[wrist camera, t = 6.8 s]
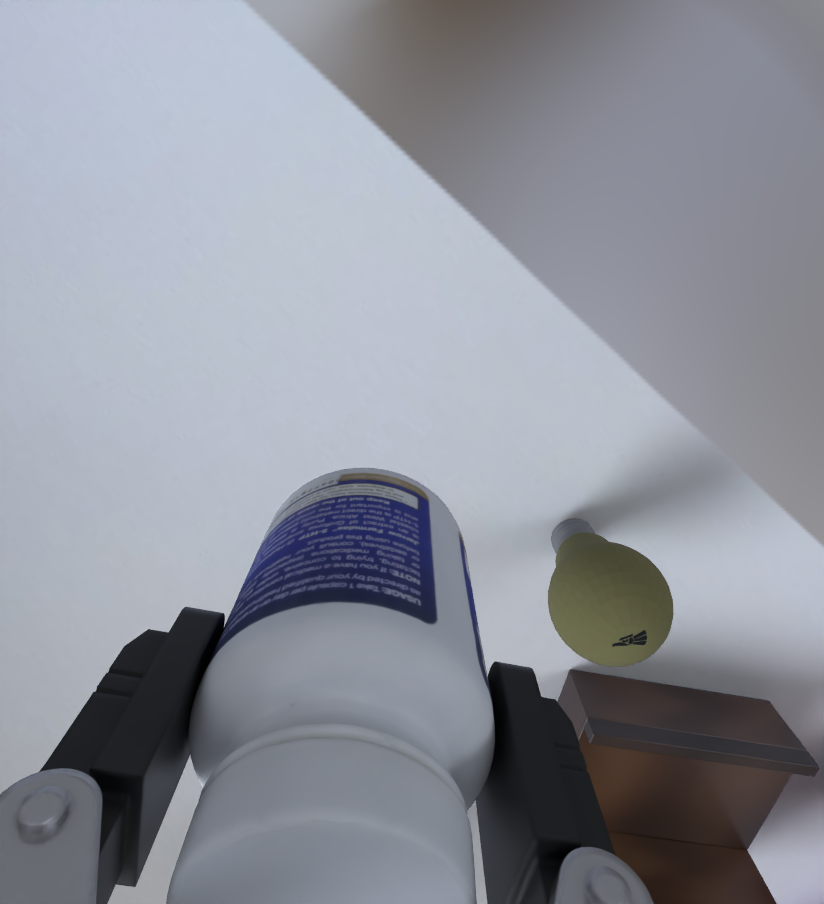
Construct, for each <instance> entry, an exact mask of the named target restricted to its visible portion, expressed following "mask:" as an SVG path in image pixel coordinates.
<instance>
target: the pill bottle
mask: <svg viewBox="0 0 824 904" xmlns="http://www.w3.org/2000/svg"><path fill="white" fill-rule="evenodd" d="M189 746H190V754H191V759H192V763H193V766H194V769H195V771H196V774H197V776H198V779H199V781H200V783H201V785H202V786H203V789H202V792H201V795H200V799H199V803H198V805H197V807H196V809H195V812H194V815H193V818H192V821H191V823H190V826H189V829H188V832H187V834H186V837H185V840H184V843H183V846H182V849H181V852H180V855H179V858H178V861H177V863H176V866H175V869H174V872H173V875H172V878H171V882H170V886H169V890H168V895H167V902H166V904H477V903H476V888H475V871H474V857H473V843H472V833H471V827H470V822H469V819H468V816H467V810H468V809H469V808H470V807H471V805H472V804H473V802H474V801H475V799H476V798H477V796H478V795H479V793H480V792H481V790H482V788H483V786H484V784H485V782H486V780H487V777H488V774H489V772H490V768H491V764H492V760H493V755H494V747H495V723H494V714H493V706H492V696H491V692H490V687H489V682H488V677H487V672H486V666H485V661H484V655H483V650H482V645H481V640H480V634H479V628H478V623H477V617H476V611H475V605H474V599H473V593H472V587H471V581H470V573H469V567H468V562H467V555H466V550H465V546H464V541H463V538H462V535H461V532H460V529H459V527H458V525H457V523H456V521H455V519H454V517H453V515H452V514H451V512H450V511H449V509H448V508H447V506H446V505H445V504H444V503H443V502H442V500H441V499H440V498H439V497H438V496H437V495H435V494H434V493H433V492H432V491H430V490H429V489H428V488H427V487H425V486H424V485H422V484H420V483H419V482H417V481H415V480H413V479H411V478H409V477H407V476H404V475H401V474H398V473H395V472H392V471H387V470H383V469H375V468H352V469H344V470H339V471H335V472H331V473H328V474H325V475H323V476H320V477H318V478H316V479H314V480H312V481H310V482H308V483H307V484H305V485H303V486H302V487H301V488H299V489H298V490H297V491H295V492H294V493H293V494H292V495H291V496H290V497H289V498H288V499H287V500H286V501H285V502H284V503H283V505H282V506H281V507H280V509H279V510H278V511H277V513H276V515H275V517H274V518H273V520H272V522H271V524H270V526H269V528H268V530H267V532H266V534H265V537H264V539H263V541H262V543H261V546H260V548H259V550H258V553H257V555H256V557H255V559H254V562H253V564H252V566H251V568H250V571H249V573H248V575H247V577H246V579H245V582H244V584H243V586H242V588H241V591H240V593H239V595H238V598H237V600H236V602H235V605H234V607H233V609H232V611H231V614H230V616H229V618H228V620H227V622H226V624H225V627H224V629H223V631H222V634H221V636H220V638H219V640H218V643H217V645H216V647H215V649H214V652H213V654H212V656H211V658H210V660H209V662H208V665H207V667H206V669H205V672H204V674H203V677H202V679H201V682H200V684H199V687H198V690H197V692H196V695H195V698H194V702H193V706H192V710H191V715H190V723H189Z"/></svg>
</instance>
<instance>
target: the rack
mask: <svg viewBox="0 0 824 904" xmlns="http://www.w3.org/2000/svg"><path fill="white" fill-rule="evenodd" d="M558 704H559V705H560V706H561V708H562V709H563V710H564V712H565V713H566V714H567V716H568V717H569V718H570V720H571V721H572V723H573V726H574V729H575V732H576V735H577V738H578V741H579V744H580V751H581V752H582V753H583V756H584V759H585V763H586V766H587V772H589V775H590V778H591V781H592V784H593V787H594V790H595V793H596V796H597V799H598V802H599V806H600V809H601V812H602V815H603V818H604V821H605V824H606V827H607V830H608V833H609V836H610V839H611V842H612V845H613V848H614V851H615V854H616V856H617V857H618V858H620V859H621V860H622V861H624V862H625V863H626V864H627V865H628V866H629V867H630V868H631V869H633V871H634V872H635V873H636V874H637V875H638V876H639V878H640V879H641V880H642V882H643V883H644V885H645V886H646V888H647V890H648V892H649V894H650V896H651V898H652V901H653V902H654V903H656V904H776V902H775V900H774V898H773V896H772V894H771V893H770V891H769V889H768V887H767V885H766V884H765V882H764V880H763V878H762V876H761V874H760V873H759V871H758V869H757V867H756V865H755V863H754V862H753V860H752V858H751V856H750V854H749V853H748V851H747V849H748V848H749V846H750V845H751V843H752V841H753V839H754V838H755V836H756V834H757V833H758V831H759V829H760V828H761V826H762V824H763V823H764V821H765V819H766V818H767V816H768V814H769V813H770V811H771V809H772V808H773V806H774V804H775V803H776V801H777V799H778V798H779V796H780V794H781V793H782V791H783V789H784V787H785V786H786V784H787V782H788V781H789V779H790V777H791V776H792V774H799V775H806V776H813V777H814V776H815V775H816V773H817V771H818V770H819V768H820V767H819V766H818V764H817V763H816V762H815V760H814V759H813V758H812V756H811V755H810V754H809V753H808V751H806V749H805V747H804V746H803V745H802V744H801V742H800V741H799V740H798V738H797V737H796V736H795V734H794V733H793V732H792V731H791V729H790V728H789V727H788V725H787V724H786V723H785V721H784V720H783V719H782V718H781V716H780V715H779V714H778V712H777V711H776V710H775V708H774V707H773V706H772V704H771V703H770V702H769V701H766V700H760V699H753V698H747V697H740V696H734V695H728V694H721V693H715V692H709V691H702V690H696V689H690V688H683V687H677V686H671V685H664V684H658V683H652V682H645V681H639V680H633V679H626V678H620V677H614V676H607V675H601V674H594V673H588V672H582V671H575V670H570V671H569V673H568V676H567V678H566V681H565V684H564V686H563V689H562V692H561V694H560V697H559V700H558Z"/></svg>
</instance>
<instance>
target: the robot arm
mask: <svg viewBox="0 0 824 904" xmlns="http://www.w3.org/2000/svg"><path fill="white" fill-rule="evenodd" d="M224 621H225V616H224V613H219V612H213V611H207V610H201V609H196V608H190V607H185V608H183V610H182V611H181V613H180V614H179V616H178V618H177V619H176V621H175V623H174V625H173V626H172V628H171V630H170V631H169V633H167V632H161V631H156V630H150V629H148V630H147V631H145V632H144V633H143V634H141V635H140V636H138V637H137V638H136V639H134V640H133V641H131V642H130V643H128V644H127V645H126V646H124V648H123V649H122V651H121V652H120V654H119V655H118V657H117V658H116V660H115V661H114V663H113V664H112V666H111V667H110V669H109V672H108V673H106V675H105V676H104V677H103V679H102V680H101V682H100V683H99V685H98V686H97V690H96V692H93V694H92V695H91V697H90V698H89V700H88V701H87V703H86V704H85V706H84V707H83V709H82V710H81V712H80V713H79V715H78V716H77V718H76V719H75V721H74V722H73V724H72V725H71V727H70V728H69V730H68V731H67V732H66V734H65V735H64V737H63V738H62V740H61V741H60V743H59V744H58V746H57V747H56V749H55V750H54V752H53V753H52V755H51V756H50V758H49V759H48V761H47V762H46V764H45V765H44V766H43V768H42V769H41V770H40V771H39V772H38V773H35V774H32V775H30V776H28V777H26V778H23V779H21V780H20V781H18V782H16V783H15V784H13V785H11V786H10V787H9V788H8V789H6V790H5V791H4V792H2V793H1V794H0V904H107V903H108V901H109V898H110V896H111V894H112V892H113V889H114V887H115V885H116V884H117V885H125V886H132V887H136V884H137V882H138V879H139V877H140V875H141V872H142V870H143V867H144V865H145V862H146V860H147V858H148V855H149V853H150V850H151V848H152V845H153V843H154V841H155V838H156V836H157V833H158V831H159V828H160V826H161V824H162V821H163V819H164V816H165V814H166V811H167V809H168V807H169V804H170V802H171V799H172V797H173V794H174V792H175V790H176V787H177V785H178V782H179V780H180V778H181V775H182V773H183V770H184V768H185V765H186V763H187V761H188V758H189V756H190V746H189V723H190V715H191V710H192V706H193V702H194V698H195V695H196V692H197V690H198V687H199V684H200V682H201V679H202V677H203V674H204V672H205V669H206V667H207V665H208V662H209V660H210V658H211V656H212V654H213V652H214V649H215V647H216V645H217V643H218V640H219V638H220V636H221V634H222V631H223V629H224ZM488 682H489V687H490V692H491V696H492V706H493V714H494V723H495V747H494V755H493V760H492V764H491V768H490V772H489V774H488V777H487V780H486V782H485V784H484V786H483V788H482V790H481V792H480V793H479V795H478V796H477V798H476V806H477V815H478V823H479V832H480V841H481V850H482V858H483V867H484V876H485V885H486V893H487V902H488V904H656V903H654V902H653V901H652V898H651V896H650V894H649V892H648V890H647V888H646V886H645V885H644V883H643V882H642V880H641V879H640V878H639V876H638V875H637V874H636V873H635V872H634V871H633V869H631V868H630V867H629V866H628V865H627V864H626V863H625V862H624V861H622V860H621V859H620V858H618V857H617V856H616V854H615V851H614V848H613V845H612V842H611V839H610V836H609V833H608V830H607V827H606V824H605V821H604V818H603V815H602V812H601V809H600V806H599V802H598V799H597V796H596V793H595V790H594V787H593V784H592V781H591V778H590V775H589V772H587V766H586V763H585V759H584V756H583V753H582V752H581V751H580V744H579V741H578V738H577V735H576V732H575V729H574V726H573V723H572V721H571V720H570V718H569V717H568V716H567V714H566V713H565V712H564V710H563V709H562V708H561V706H560V705H559V704H558V702H557V701H556V700H555V699H549V698H543V697H541V695H540V691H539V687H538V684H537V680H536V676H535V673H534V671H533V669H532V668H529V667H523V666H518V665H512V664H506V663H500V662H494V663H493V664H492V666H491V668H490V671H489V674H488Z"/></svg>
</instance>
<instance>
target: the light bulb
mask: <svg viewBox="0 0 824 904" xmlns="http://www.w3.org/2000/svg"><path fill="white" fill-rule="evenodd" d="M551 541H552V545H553V547H554V550H555V552H556V554H557V555H556V568H555V570H554V573H553V575H552V578H551V582H550V586H549V590H548V605H549V613H550V616H551V619H552V622H553V624H554V627H555V629H556V631H557V632H558V634H559V635H560V637H561V638H562V640H563V641H564V642H565V643H566V644H567V645H568V646H569V647H570V648H571V649H572V650H573V651H574V652H576V653H577V654H578V655H580V656H581V657H583V658H585V659H587V660H589V661H591V662H594V663H597V664H600V665H605V666H627V665H633V664H635V663H638V662H641V661H643V660H645V659H647V658H648V657H650V656H651V655H652V654H654V653H655V652H656V651H657V650H658V648H659V647H660V646H661V645H662V644H663V642H664V641H665V639H666V638H667V636H668V634H669V631H670V628H671V624H672V619H673V600H672V596H671V593H670V589H669V586H668V584H667V582H666V580H665V578H664V577H663V575H662V573H661V572H660V571H659V569H658V568H657V567H656V566H655V565H654V564H653V563H652V562H651V561H650V560H649V559H648V558H646V557H645V556H644V555H642V554H641V553H639V552H638V551H636V550H634V549H632V548H630V547H627V546H624V545H621V544H618V543H612V542H608V541H607V540H606V539H605V538H603V537H601V536H599V535H597V534H595V533H594V531H593V529H592V528H591V526H590V525H589V524H588V523H587V522H585V521H583V520H581V519H568V520H565V521H563V522H561V523H560V524H558V525H557V526H556V528H555V529H554V531H553V533H552V536H551Z"/></svg>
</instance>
